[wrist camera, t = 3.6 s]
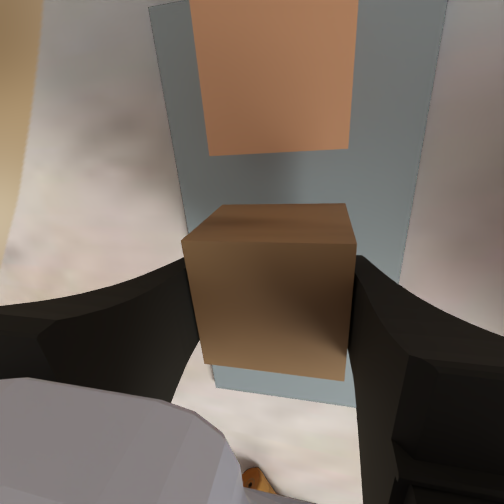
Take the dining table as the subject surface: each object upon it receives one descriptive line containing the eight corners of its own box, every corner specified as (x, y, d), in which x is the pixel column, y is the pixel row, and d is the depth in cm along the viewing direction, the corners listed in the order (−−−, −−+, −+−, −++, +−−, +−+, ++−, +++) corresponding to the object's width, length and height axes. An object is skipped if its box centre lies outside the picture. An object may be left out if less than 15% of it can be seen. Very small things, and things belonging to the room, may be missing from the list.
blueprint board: (375, 405, 20) (376, 410, 20) (217, 383, 23) (215, 387, 22) (451, -46, 10) (457, -52, 10) (153, 10, 13) (147, 7, 12)
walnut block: (337, 309, 13) (344, 381, 9) (233, 301, 14) (204, 363, 10) (345, 203, 11) (357, 244, 7) (222, 204, 12) (180, 240, 8)
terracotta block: (340, 140, 13) (348, 148, 9) (236, 146, 14) (209, 156, 11) (348, 2, 11) (362, -53, 7) (226, 22, 12) (187, -17, 8)
